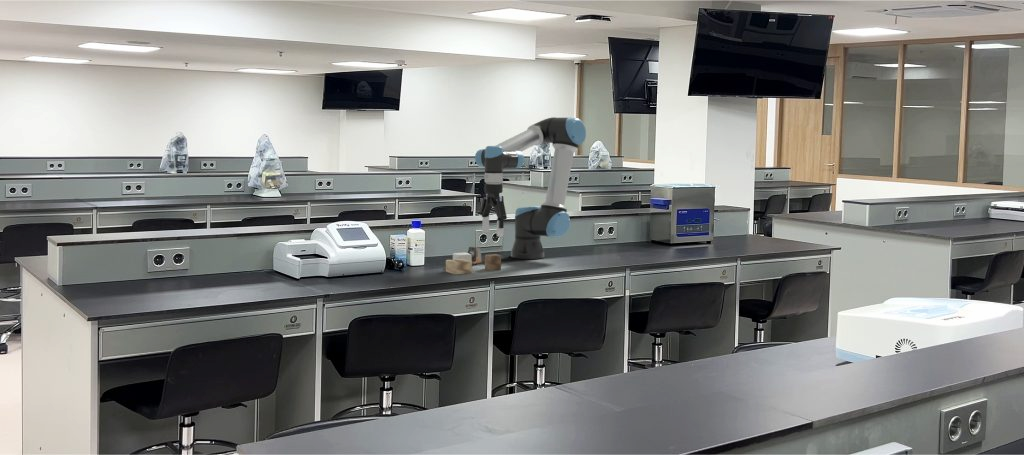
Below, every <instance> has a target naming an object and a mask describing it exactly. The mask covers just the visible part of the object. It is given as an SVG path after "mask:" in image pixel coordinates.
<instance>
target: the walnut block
mask: <svg viewBox="0 0 1024 455" xmlns="http://www.w3.org/2000/svg"><path fill="white" fill-rule="evenodd" d="M487 269H488V270H487ZM484 270H487V271H490V270H492V271H501V270H502V255H500V254H496V253H495V254H494V253H493V254H492V253H491V254H485V255H484Z"/></svg>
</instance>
